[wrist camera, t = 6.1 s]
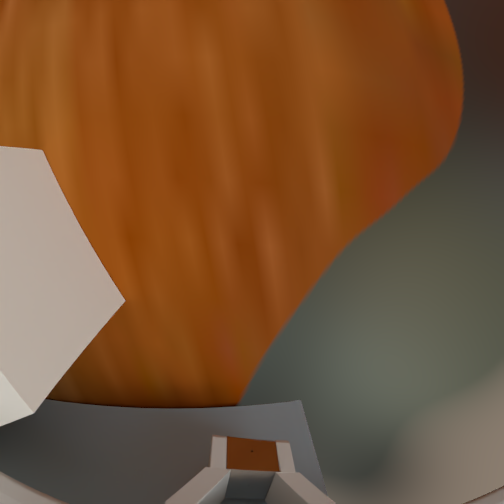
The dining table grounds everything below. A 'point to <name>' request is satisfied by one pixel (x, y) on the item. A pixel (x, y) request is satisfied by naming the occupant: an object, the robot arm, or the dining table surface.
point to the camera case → (43, 284)
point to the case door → (139, 448)
